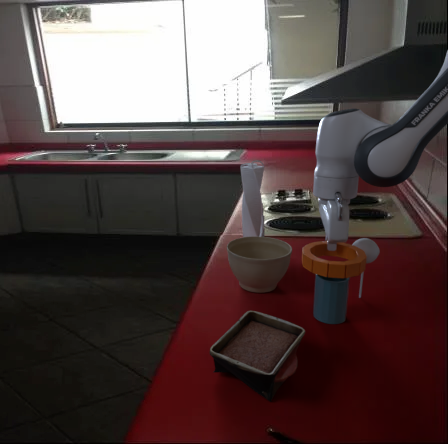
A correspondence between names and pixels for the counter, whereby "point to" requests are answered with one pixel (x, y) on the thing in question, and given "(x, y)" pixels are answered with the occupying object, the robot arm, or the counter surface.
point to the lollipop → (367, 253)
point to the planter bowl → (258, 262)
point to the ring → (334, 267)
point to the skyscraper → (252, 200)
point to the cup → (330, 299)
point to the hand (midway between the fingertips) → (330, 247)
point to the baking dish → (259, 351)
